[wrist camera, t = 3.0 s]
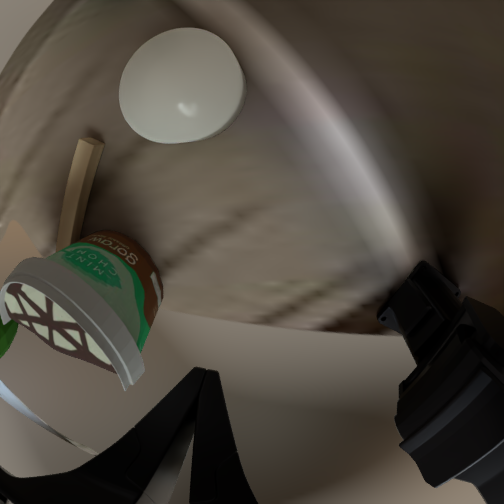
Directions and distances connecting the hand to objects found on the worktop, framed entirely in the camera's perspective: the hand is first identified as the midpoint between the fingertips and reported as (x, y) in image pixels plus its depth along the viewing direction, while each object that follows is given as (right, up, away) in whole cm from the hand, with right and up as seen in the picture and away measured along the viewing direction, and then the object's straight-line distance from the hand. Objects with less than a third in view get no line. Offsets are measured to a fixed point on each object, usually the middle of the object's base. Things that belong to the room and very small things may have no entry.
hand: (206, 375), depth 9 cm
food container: (-10, +4, +12) cm, 16 cm away
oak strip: (-14, +6, +11) cm, 19 cm away
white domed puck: (-2, +15, +7) cm, 17 cm away
